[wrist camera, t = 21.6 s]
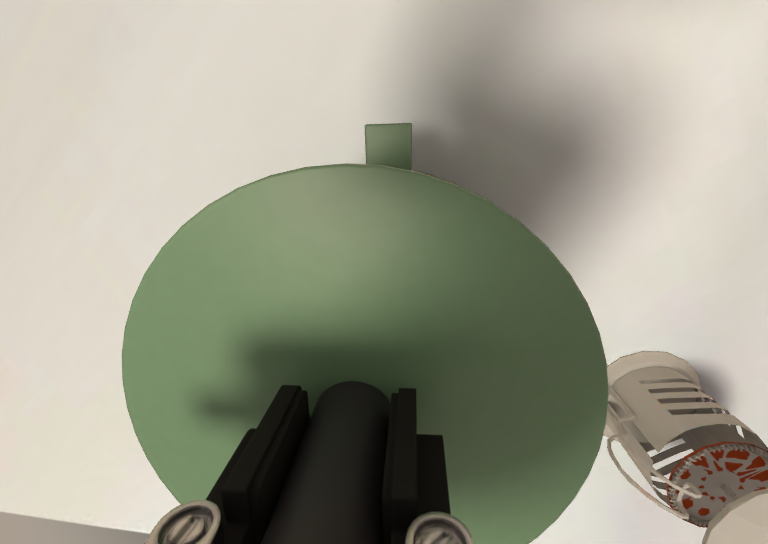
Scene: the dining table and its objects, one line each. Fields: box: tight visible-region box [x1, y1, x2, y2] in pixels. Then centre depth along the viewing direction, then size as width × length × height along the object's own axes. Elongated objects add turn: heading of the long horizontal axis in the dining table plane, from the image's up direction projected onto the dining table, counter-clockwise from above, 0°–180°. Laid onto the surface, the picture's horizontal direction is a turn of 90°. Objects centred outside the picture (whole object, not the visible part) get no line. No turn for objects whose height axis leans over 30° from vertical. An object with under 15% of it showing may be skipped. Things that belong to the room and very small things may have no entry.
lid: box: [122, 164, 609, 544], centre depth 10 cm, size 16×16×7 cm
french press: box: [603, 351, 768, 544], centre depth 23 cm, size 10×12×25 cm
